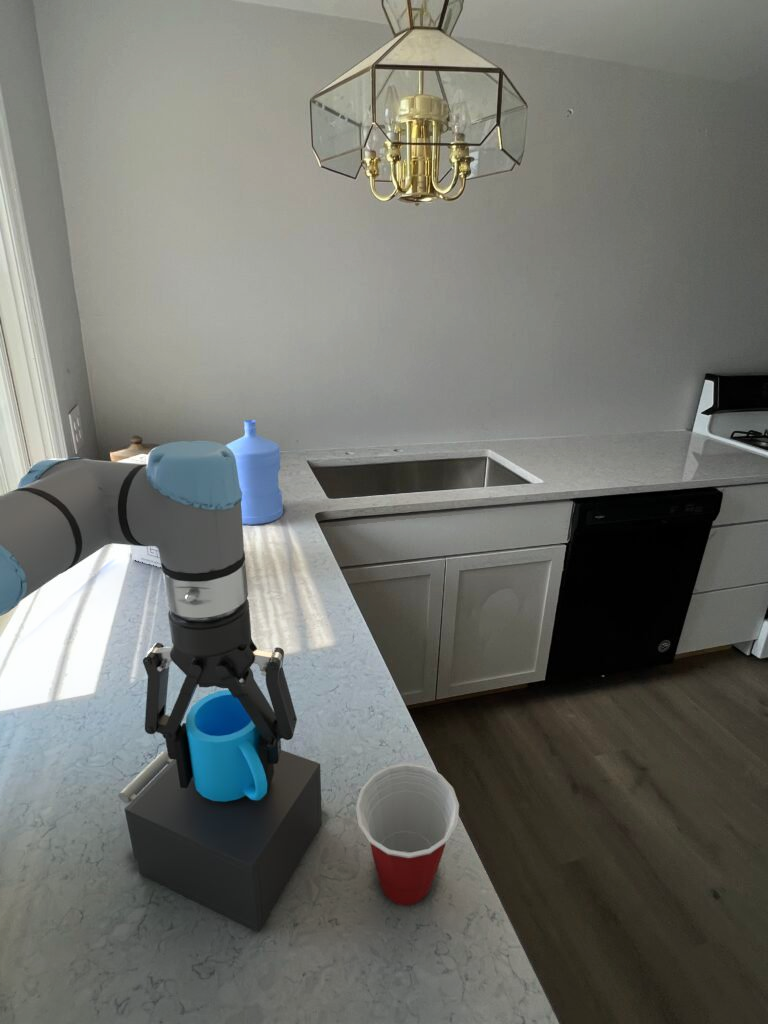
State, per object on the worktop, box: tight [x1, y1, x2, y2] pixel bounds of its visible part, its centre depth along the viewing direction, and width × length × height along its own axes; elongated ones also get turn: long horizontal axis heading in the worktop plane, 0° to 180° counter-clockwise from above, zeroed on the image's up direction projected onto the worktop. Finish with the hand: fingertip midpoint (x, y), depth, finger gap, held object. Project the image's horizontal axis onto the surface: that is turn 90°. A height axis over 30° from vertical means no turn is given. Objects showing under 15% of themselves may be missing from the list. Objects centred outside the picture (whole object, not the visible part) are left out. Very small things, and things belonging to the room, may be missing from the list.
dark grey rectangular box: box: [127, 749, 323, 933], centre depth 64 cm, size 16×14×10 cm
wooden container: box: [109, 435, 161, 462], centre depth 163 cm, size 15×15×22 cm
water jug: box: [225, 419, 284, 526], centre depth 158 cm, size 16×16×28 cm
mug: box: [185, 689, 267, 802], centre depth 61 cm, size 12×8×8 cm
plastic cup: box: [355, 762, 460, 906], centre depth 60 cm, size 11×11×12 cm
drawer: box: [118, 750, 176, 861], centre depth 65 cm, size 19×13×8 cm, turn 68°
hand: (228, 779), depth 62 cm, fingers closed on mug, 8 cm apart
